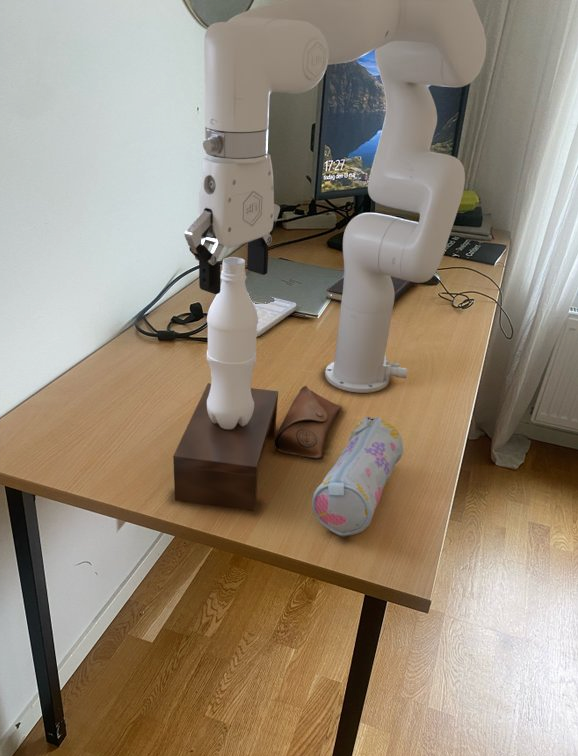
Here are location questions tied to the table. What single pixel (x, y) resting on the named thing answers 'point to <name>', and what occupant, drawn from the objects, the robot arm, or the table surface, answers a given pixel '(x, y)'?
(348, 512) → the pencil case
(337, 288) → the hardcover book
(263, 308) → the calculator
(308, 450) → the sunglasses case
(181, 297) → the table surface
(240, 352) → the water bottle
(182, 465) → the wooden block
